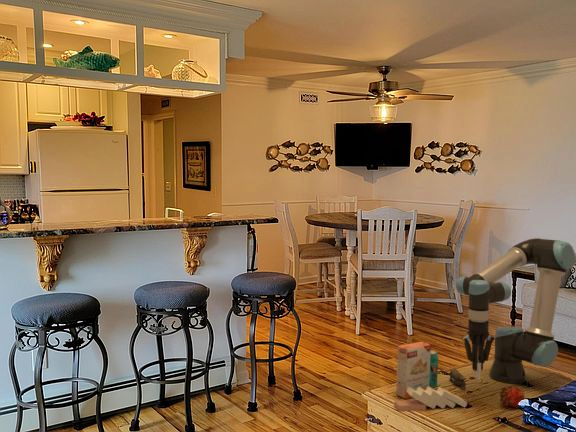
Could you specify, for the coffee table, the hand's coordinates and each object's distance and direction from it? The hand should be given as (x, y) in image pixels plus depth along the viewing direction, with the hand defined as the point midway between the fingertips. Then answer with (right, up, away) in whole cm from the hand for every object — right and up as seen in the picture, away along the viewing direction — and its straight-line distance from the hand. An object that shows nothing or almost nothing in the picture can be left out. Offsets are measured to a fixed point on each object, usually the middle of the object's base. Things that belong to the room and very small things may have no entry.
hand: (477, 377), depth 217 cm
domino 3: (-15, -10, -2) cm, 18 cm away
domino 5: (-6, -10, 0) cm, 11 cm away
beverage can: (-14, -9, +20) cm, 26 cm away
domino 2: (-19, -10, -2) cm, 21 cm away
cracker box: (-23, -10, +10) cm, 27 cm away
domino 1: (-22, -10, -3) cm, 24 cm away
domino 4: (-11, -10, -1) cm, 14 cm away
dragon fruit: (+14, -11, -1) cm, 18 cm away
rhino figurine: (-1, -10, +20) cm, 22 cm away
